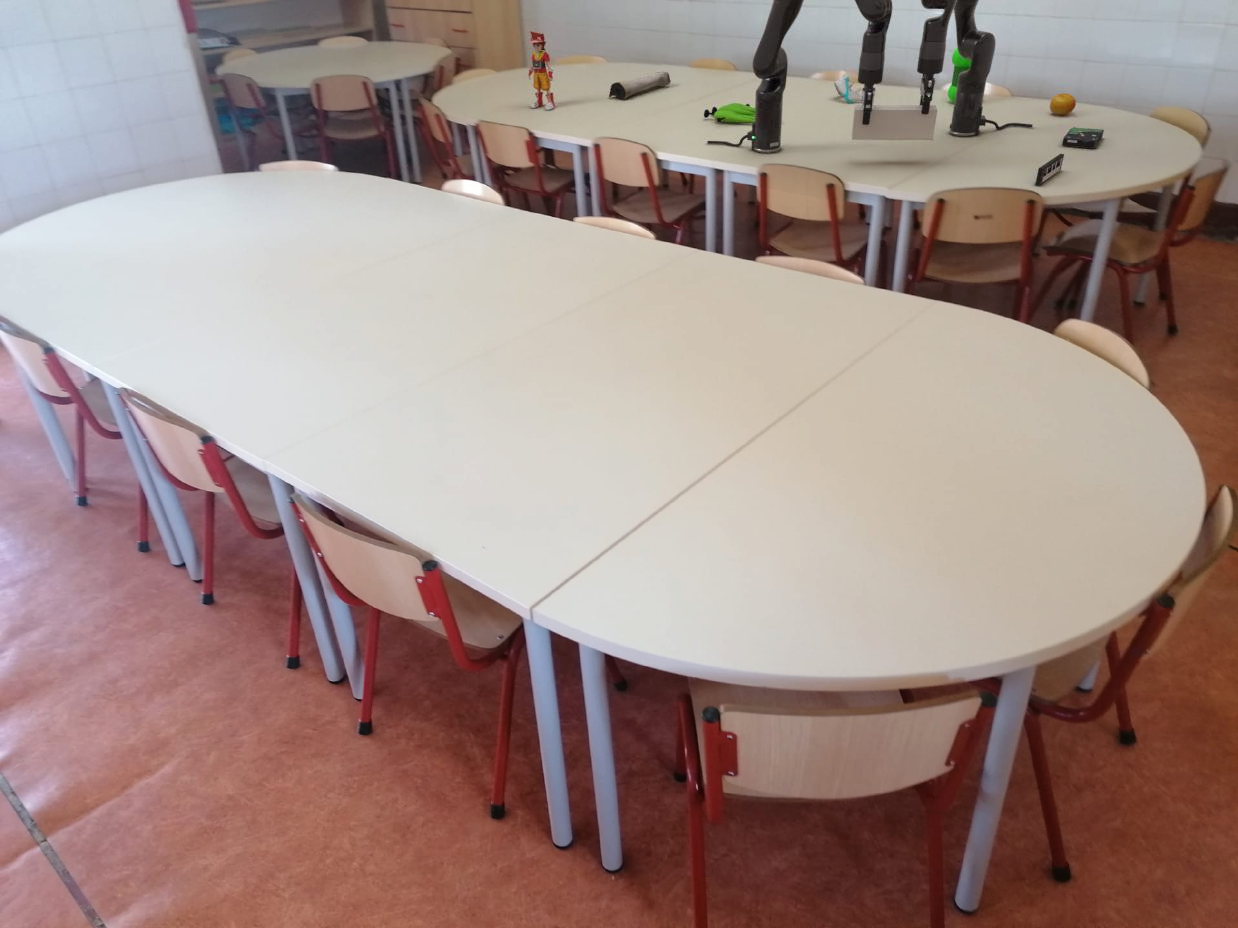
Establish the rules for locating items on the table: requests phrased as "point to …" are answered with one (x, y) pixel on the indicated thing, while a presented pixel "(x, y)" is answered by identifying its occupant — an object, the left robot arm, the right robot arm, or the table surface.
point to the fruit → (1062, 104)
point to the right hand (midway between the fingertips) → (923, 111)
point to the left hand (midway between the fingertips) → (865, 121)
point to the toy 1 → (541, 71)
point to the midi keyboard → (1049, 169)
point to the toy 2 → (733, 113)
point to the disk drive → (1083, 137)
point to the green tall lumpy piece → (957, 72)
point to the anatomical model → (847, 90)
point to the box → (894, 123)
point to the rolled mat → (638, 84)
